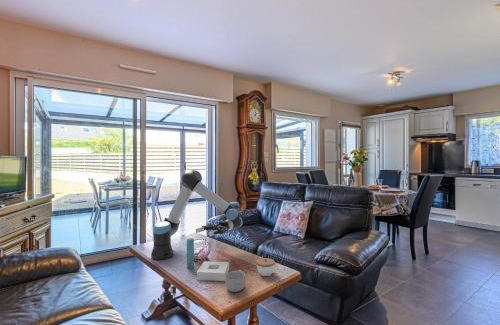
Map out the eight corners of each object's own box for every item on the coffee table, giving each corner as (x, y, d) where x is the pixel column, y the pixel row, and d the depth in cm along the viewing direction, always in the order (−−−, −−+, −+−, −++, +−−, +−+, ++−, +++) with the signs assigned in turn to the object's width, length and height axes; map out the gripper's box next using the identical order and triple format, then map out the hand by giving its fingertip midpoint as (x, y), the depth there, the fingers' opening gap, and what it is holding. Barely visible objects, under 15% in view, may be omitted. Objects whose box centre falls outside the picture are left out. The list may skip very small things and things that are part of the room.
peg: (188, 266, 175) (187, 238, 175) (195, 266, 175) (194, 238, 174) (185, 268, 171) (185, 240, 170) (192, 269, 170) (192, 240, 170)
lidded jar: (276, 277, 157) (276, 261, 157) (258, 279, 155) (258, 262, 155) (272, 270, 168) (272, 254, 167) (255, 271, 166) (255, 256, 166)
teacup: (237, 296, 136) (237, 280, 136) (220, 291, 142) (220, 275, 142) (252, 285, 148) (252, 270, 148) (235, 280, 154) (235, 266, 154)
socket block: (204, 268, 171) (203, 261, 171) (229, 269, 169) (229, 262, 169) (196, 279, 155) (196, 272, 155) (224, 280, 154) (224, 272, 153)
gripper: (238, 233, 188) (215, 241, 172) (213, 228, 204) (191, 235, 188) (238, 223, 188) (215, 229, 172) (213, 218, 204) (190, 224, 188)
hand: (202, 232), depth 180 cm, fingers open, 13 cm apart
